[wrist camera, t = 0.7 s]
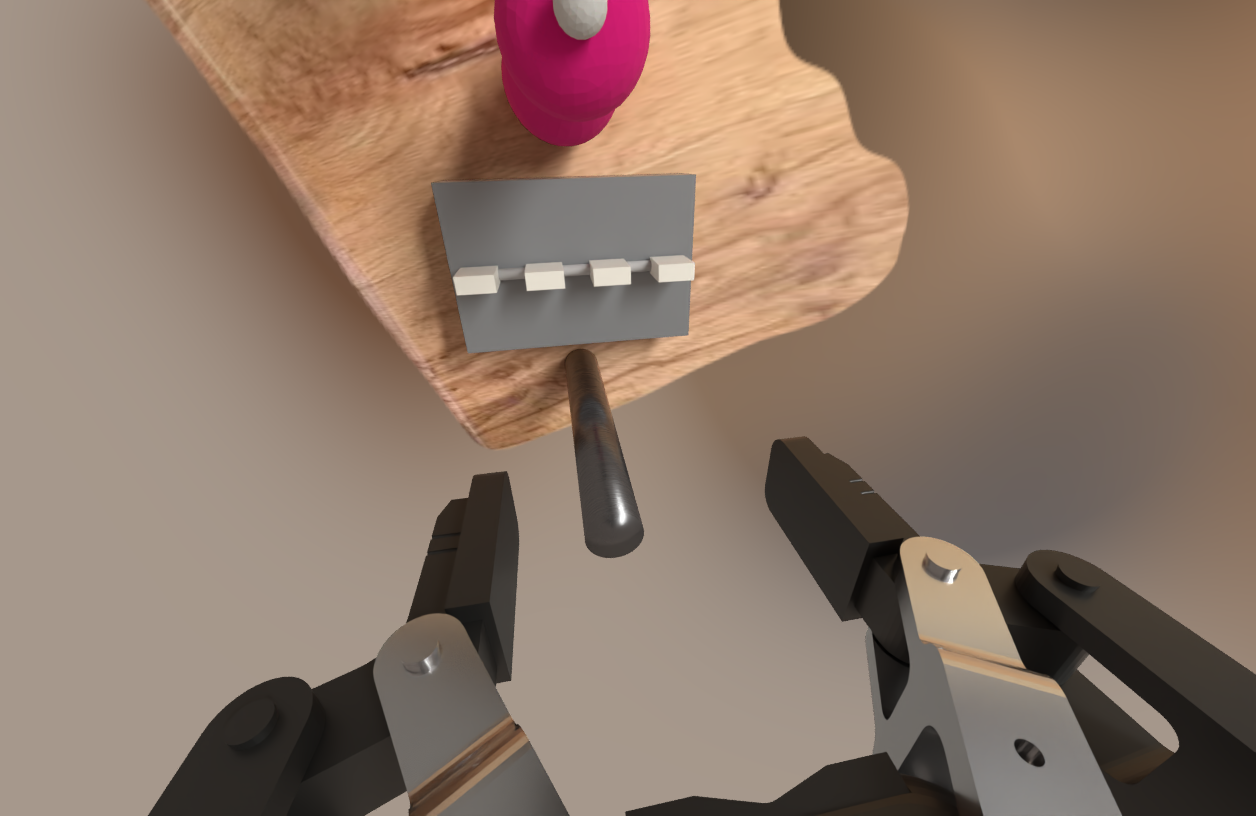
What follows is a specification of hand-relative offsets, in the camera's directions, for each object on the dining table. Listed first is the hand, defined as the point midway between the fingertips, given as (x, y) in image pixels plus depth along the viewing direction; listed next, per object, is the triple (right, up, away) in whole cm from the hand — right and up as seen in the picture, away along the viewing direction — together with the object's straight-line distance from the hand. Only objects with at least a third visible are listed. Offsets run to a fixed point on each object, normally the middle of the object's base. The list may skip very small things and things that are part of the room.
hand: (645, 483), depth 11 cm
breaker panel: (-5, +14, +25) cm, 30 cm away
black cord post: (-5, +6, +30) cm, 31 cm away
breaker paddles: (-4, +12, +22) cm, 26 cm away
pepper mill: (-5, +24, +20) cm, 32 cm away
